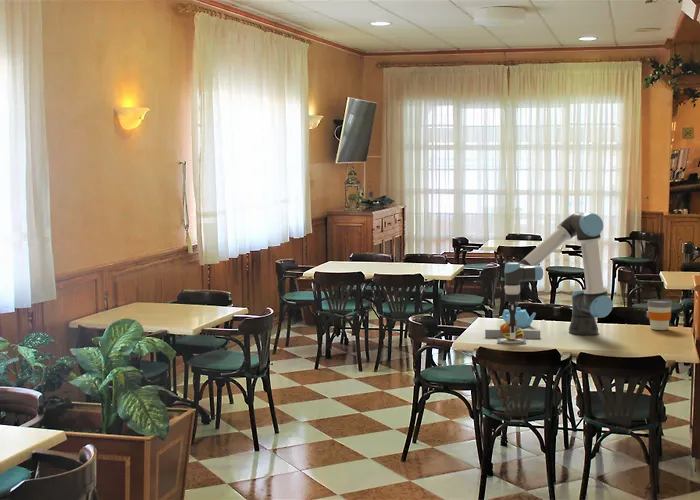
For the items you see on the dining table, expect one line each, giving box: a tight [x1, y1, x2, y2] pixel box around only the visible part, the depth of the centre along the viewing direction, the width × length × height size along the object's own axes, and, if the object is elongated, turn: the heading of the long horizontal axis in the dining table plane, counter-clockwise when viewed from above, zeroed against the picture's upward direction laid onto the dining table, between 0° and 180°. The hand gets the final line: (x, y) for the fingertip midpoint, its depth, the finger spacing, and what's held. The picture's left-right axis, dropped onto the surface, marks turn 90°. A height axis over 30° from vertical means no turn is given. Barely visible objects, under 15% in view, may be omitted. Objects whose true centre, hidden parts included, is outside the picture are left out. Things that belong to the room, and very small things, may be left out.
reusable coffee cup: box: [646, 299, 673, 331], centre depth 448 cm, size 13×13×15 cm
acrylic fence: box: [484, 328, 541, 339], centre depth 429 cm, size 28×1×4 cm, turn 79°
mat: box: [496, 338, 527, 345], centre depth 418 cm, size 14×14×1 cm
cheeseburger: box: [499, 321, 524, 340], centre depth 418 cm, size 10×11×10 cm
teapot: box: [501, 306, 537, 329], centre depth 463 cm, size 15×15×11 cm
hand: (512, 337), depth 418 cm, fingers closed on cheeseburger, 10 cm apart
